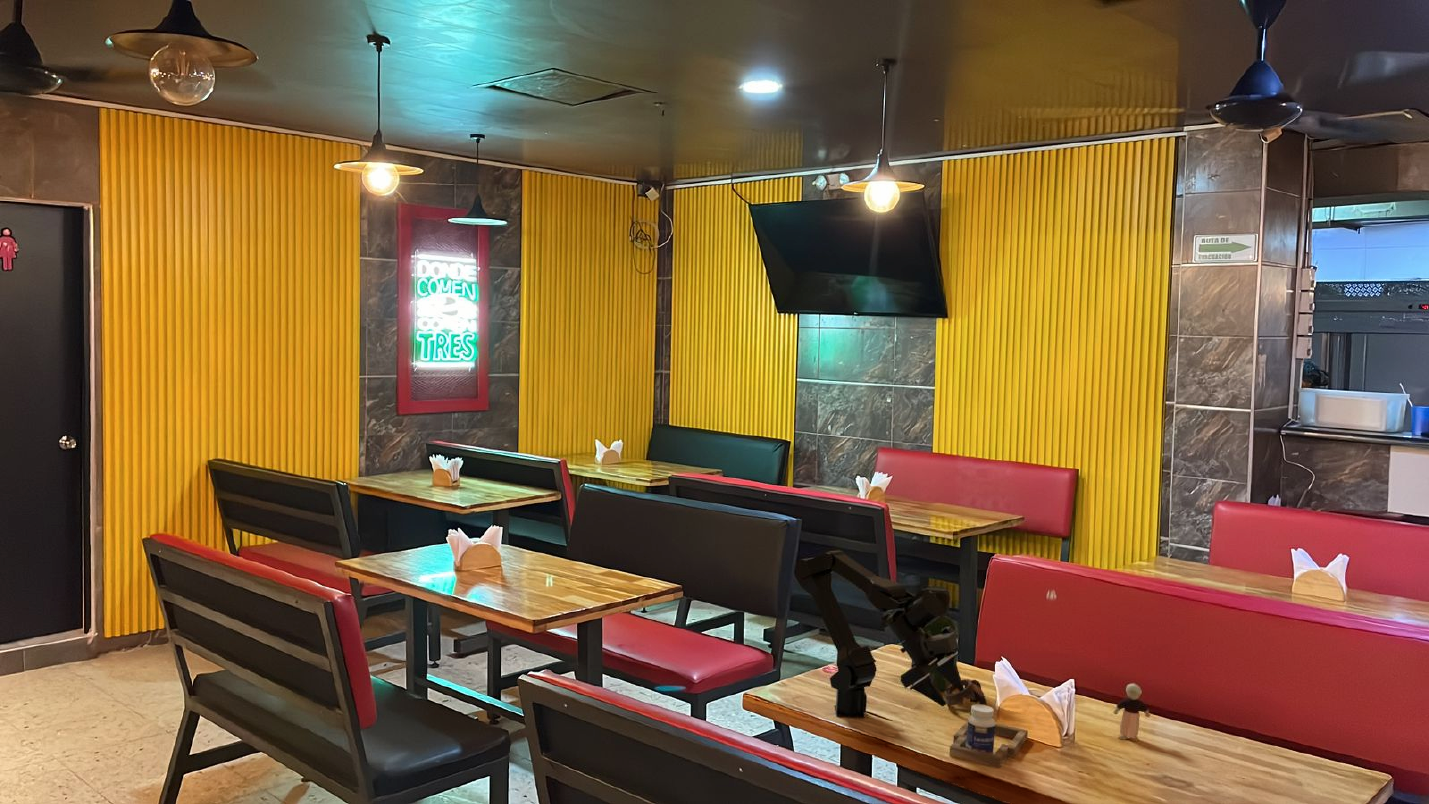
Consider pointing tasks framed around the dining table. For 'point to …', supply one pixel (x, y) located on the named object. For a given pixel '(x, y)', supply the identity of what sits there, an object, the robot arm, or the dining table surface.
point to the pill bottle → (981, 729)
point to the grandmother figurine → (1131, 713)
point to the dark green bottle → (939, 630)
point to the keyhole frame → (997, 757)
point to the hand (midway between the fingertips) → (953, 697)
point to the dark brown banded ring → (966, 693)
